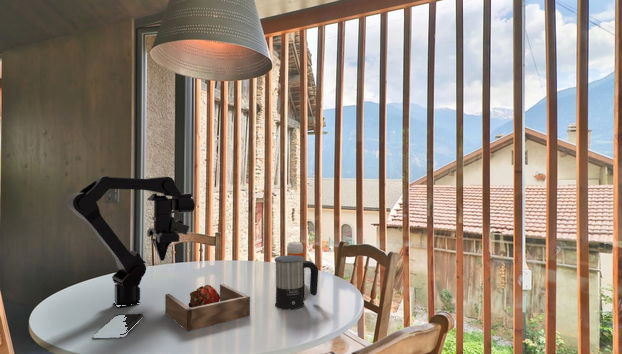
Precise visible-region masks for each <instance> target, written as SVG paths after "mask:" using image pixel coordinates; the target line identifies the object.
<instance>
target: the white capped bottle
mask: <svg viewBox="0 0 622 354" xmlns="http://www.w3.org/2000/svg"><path fill="white" fill-rule="evenodd" d="M287 255H294V256H301V257H304V245H303V243H302V242H298V241H292V242H291V241H290V242H288V243H287V245H286V256H287Z"/></svg>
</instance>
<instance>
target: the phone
mask: <svg viewBox="0 0 622 354" xmlns="http://www.w3.org/2000/svg"><path fill="white" fill-rule="evenodd" d="M115 315H116V316H117V315H125V317H127V318H126V320H125V321H123V322H126V324H127V325H125V327H128V328H127V330H128V331H129V330H130V329H131V328H132V327H133V326H134V325H135V324H136V323H137V322H138V321H139V320H140V319H141V318H142V317H143V318H144V314H143V313H129V314H128V313H126V314H125V313H123V314H120V313H119V314H115ZM125 317H124V318H125ZM143 318H142V319H143ZM142 319H141V320H142ZM141 320H140V321H141ZM140 321H139V322H140ZM127 330H126V331H127ZM128 331H127V332H128ZM127 332H126V333H127ZM126 333H124V334H126ZM124 334H120V335H124Z"/></svg>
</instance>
